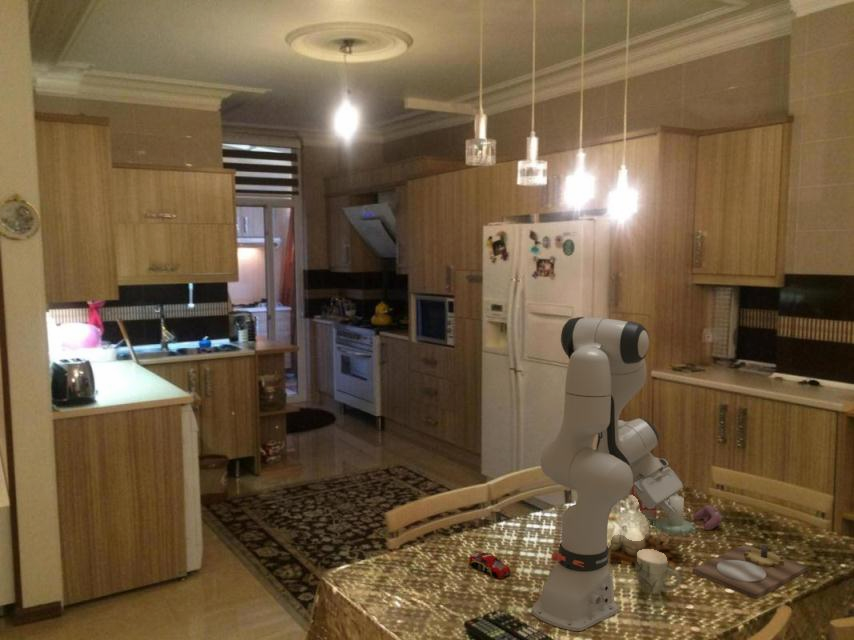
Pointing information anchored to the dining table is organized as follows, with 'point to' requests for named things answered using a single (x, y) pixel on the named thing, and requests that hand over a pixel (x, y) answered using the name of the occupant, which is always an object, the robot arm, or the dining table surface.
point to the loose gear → (675, 519)
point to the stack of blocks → (645, 508)
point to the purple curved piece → (709, 516)
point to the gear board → (750, 570)
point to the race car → (489, 565)
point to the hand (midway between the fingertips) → (678, 512)
